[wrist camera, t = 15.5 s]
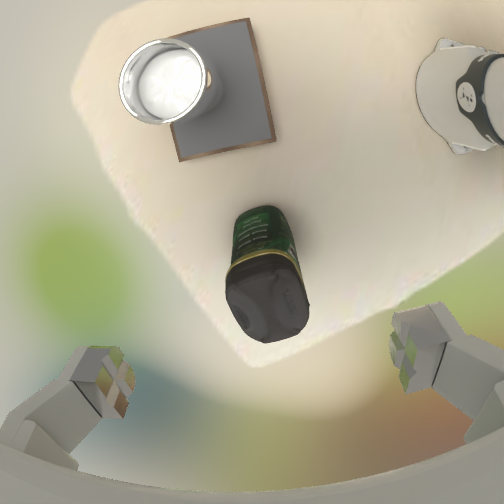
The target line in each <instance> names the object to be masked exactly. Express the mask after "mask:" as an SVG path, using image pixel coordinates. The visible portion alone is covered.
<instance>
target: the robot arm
mask: <svg viewBox="0 0 504 504" xmlns="http://www.w3.org/2000/svg"><path fill="white" fill-rule="evenodd" d="M451 46H452V47H451ZM416 93H417V99H418V103H419V107H420V109H421V112H422V114H423V116H424V118H425V119H426V121H427V122H428V124H429V125H430V126H431V127H432V129H433V130H434V131H436V132H437V133H438V134H439V135H441V136H442V137H443V138H444V139H445V140H446V141H447V142H448V144H449V146H450V148H451V149H452V151H453V152H454V153H456V154H464V153H467V152H470V151H473V150H476V149H478V150H482V151H487V149H488V148H492V147H495V146H497V145H498V146H501V147H504V54H500V53H499V52H496V51H492V50H488V51H487V53H486V49H485V48H483V47H477V48H476V46H473V45H467V46H466V45H464V44H461V43H458V42H456V41H453V40H450V39H448V38H441V39H440V40H439V41H438V43H437V45H436V48H435V51H434V52H433V53H432V54H431V55H430V56H428V57H427V58H426V59H425V60H424V62H423V63H422V65H421V66H420V69H419V71H418V75H417V80H416ZM463 146H464V147H463ZM392 325H393V327H394V331H393V332H392V334H391V335H390V342H389V347H390V354H391V358H392V361H393V364H394V366H396V367H398V368H399V369H400V374H399V378H400V381H401V383H402V386H403V388H404V391H405V393H406V394H408V393H412V392H416V391H419V390H423V389H427V388H430V387H432V389H433V390H435V391H436V392H437V393H439V394H440V395H441V396H443V397H444V398H445V399H446V400H448V401H449V402H450V403H452V404H453V405H454V406H455V407H457V408H458V409H459V410H461V411H462V412H463V413H464V414H466V415H467V416H468V417H470V418H471V419H472V420H474V421H473V423H472V425H471V426H470V428H469V429H468V431H467V432H466V434H465V436H464V440H465V443H466V445H463V446H461V447H459V448H457V449H454V450H452V451H449V452H447V453H444V454H441V455H439V456H436V457H433V458H430V459H427V460H425V461H422V462H419V463H416V464H413V465H409V466H406V467H403V468H400V469H396V470H393V471H389V472H385V473H381V474H377V475H373V476H369V477H365V478H360V479H355V480H350V481H345V482H339V483H334V484H328V485H321V486H314V487H307V488H298V489H287V490H276V491H258V492H257V491H256V492H211V491H209V492H208V491H192V490H180V489H169V488H160V487H153V486H146V485H139V484H134V483H128V482H123V481H118V480H113V479H108V478H104V477H99V476H95V475H91V474H87V473H83V472H80V471H77V469H78V466H79V464H78V462H77V461H76V460H75V459H74V458H73V457H71V456H70V455H69V454H70V453H71V451H73V449H74V448H75V447H76V446H77V445H78V444H79V443H80V442H81V441H82V440H83V439H84V438H85V437H86V436H87V435H88V434H89V432H90V431H91V430H92V429H93V428H94V427H95V426H96V425H97V424H98V423H99V422H100V421H101V420H102V418H113V419H123V418H124V416H125V413H126V410H127V407H128V405H129V402H128V400H127V397H128V396H129V395H130V394H132V393H133V390H134V387H135V375H134V371H133V369H132V368H131V366H130V365H129V364H128V363H127V362H125V361H124V360H123V358H124V354H123V353H122V351H121V349H120V348H119V347H116V346H79V347H77V348H76V349H75V351H74V352H73V354H72V356H71V357H70V359H69V361H68V363H67V364H66V366H65V367H64V369H63V371H62V373H61V374H60V376H59V378H58V380H55V379H54V380H53V381H52V382H50V383H49V384H48V385H46V386H45V387H43V388H42V389H41V390H39V391H38V392H37V393H35V394H34V395H33V396H31V397H30V398H28V399H27V400H26V401H24V402H23V403H22V404H20V405H19V406H18V407H16V408H15V409H14V410H12V411H11V412H10V413H9V414H8V416H7V417H6V419H5V421H4V423H3V425H2V427H1V429H0V504H504V350H503V349H500V348H499V347H496V346H494V345H492V344H490V343H488V342H486V341H484V340H482V339H480V338H478V337H475V336H473V335H468V336H467V335H466V333H465V332H464V330H463V329H462V327H461V326H460V325H459V323H458V322H457V320H456V319H455V318H454V316H453V315H452V314H451V312H450V311H449V310H448V308H447V307H446V306H445V304H444V303H443V302H441V301H438V302H435V303H431V304H427V305H425V306H420V307H416V308H411V309H407V310H403V311H399V312H394V314H393V317H392Z"/></svg>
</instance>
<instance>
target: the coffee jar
mask: <svg viewBox="0 0 504 504" xmlns="http://www.w3.org/2000/svg"><path fill="white" fill-rule="evenodd" d="M225 293H226V300H227V303H228V305H229V307H230V309H231V311H232V313H233V315H234V317H235V319H236V321H237V322H238V324H239V325H240V327H241V328H242V330H243V331H244V332H245V333H246V334H247V335H248V336H249V337H251V338H253V339H255V340H257V341H260V342H262V343H271V342H276V341H280V340H283V339H287V338H290V337H293V336H295V335H297V334H299V333H300V331H301V330H302V329H303V328H304V327H305V325H306V324H307V322H308V319H309V306H310V304H309V302H308V299H307V294H306V290H305V287H304V283H303V279H302V274H301V270H300V266H299V261H298V257H297V253H296V249H295V244H294V240H293V237H292V233H291V230H290V228H289V225H288V223H287V221H286V219H285V217H284V215H283V214H282V212H281V211H280V210H278V209H277V208H275V207H272V206H262V207H258V208H255V209H252V210H250V211H247V212H245V213H244V214H242V215H241V216H239V217H238V219H237V220H236V222H235V226H234V233H233V248H232V259H231V266H230V268H229V269H228V272H227V274H226V291H225Z"/></svg>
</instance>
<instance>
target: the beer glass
mask: <svg viewBox="0 0 504 504" xmlns="http://www.w3.org/2000/svg"><path fill="white" fill-rule="evenodd" d="M223 92H224V86H223V81H222V79H221V77H220V76H219V74H218V73H217V72H216V70H215V68H214V66H213V64H212V63H211V62H210V60H209V59H208V58H207V57H206V56H205V55H204V54H203V53H202V52H200V51H199V50H198V49H196V48H194V47H192V46H190V45H189V44H187V43H185V42H183V41H180V40H176V39H167V38H166V39H157V40H154V41H151V42H148V43H146V44H144V45H142V46H141V47H139V48H138V49H137V50H135V51H134V52H133V53H132V54H131V55H130V57H129V58H128V59H127V61H126V62H125V64H124V66H123V68H122V70H121V73H120V77H119V95H120V98H121V101H122V103H123V105H124V107H125V108H126V110H127V111H128V112H129V113H130V114H131V115H132V116H133V117H135V118H136V119H138V120H140V121H142V122H145V123H149V124H178V123H183V122H186V121H189V120H192V119H194V118H196V117H198V116H199V115H202V114H205V113H208V112H210V111H212V110H213V109H214V108H215V107H216V106H217V105H218V104H219V103H220V101H221V99H222V97H223Z"/></svg>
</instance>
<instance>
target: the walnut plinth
mask: <svg viewBox="0 0 504 504" xmlns="http://www.w3.org/2000/svg"><path fill="white" fill-rule="evenodd" d="M165 39H166V38H165ZM167 39H176V40H180V41H183V42H185V43H187V44H189V45H190V46H192V47H194V48H196V49H198V50H199V51H200V52H202V53H203V54H204V55H205V56H206V57H207V58H208V59H209V60H210V62H211V63H212V64H213V66H214V68H215V70H216V72H217V73H218V74H219V76H220V77H221V79H222V81H223V86H224V92H223V97H222V99H221V101H220V103H219V104H218V105H217V106H216V107H215V108H214V109H213V110H212V111H210V112H208V113H205V114H202V115H199V116H198V117H196V118H194V119H192V120H189V121H186V122H183V123H178V124H170V128H171V132H172V136H173V140H174V143H175V147H176V151H177V155H178V159H179V162H182V161H186V160H190V159H194V158H199V157H203V156H207V155H211V154H216V153H220V152H225V151H229V150H234V149H239V148H244V147H249V146H254V145H259V144H264V143H270V142H276V136H275V130H274V125H273V121H272V116H271V111H270V106H269V101H268V96H267V92H266V87H265V82H264V78H263V73H262V69H261V64H260V60H259V56H258V51H257V47H256V43H255V38H254V34H253V30H252V26H251V22H250V18H244V19H239V20H234V21H229V22H224V23H220V24H215V25H211V26H207V27H203V28H199V29H195V30H192V31H188V32H184V33H181V34H178V35H174V36H171V37H168V38H167Z"/></svg>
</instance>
